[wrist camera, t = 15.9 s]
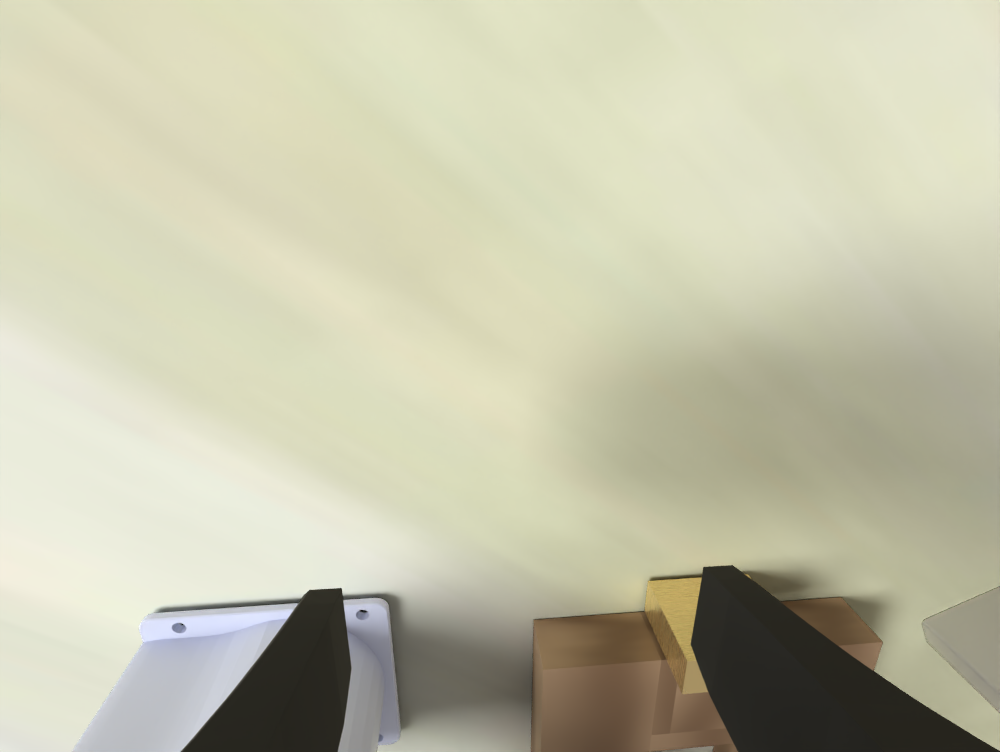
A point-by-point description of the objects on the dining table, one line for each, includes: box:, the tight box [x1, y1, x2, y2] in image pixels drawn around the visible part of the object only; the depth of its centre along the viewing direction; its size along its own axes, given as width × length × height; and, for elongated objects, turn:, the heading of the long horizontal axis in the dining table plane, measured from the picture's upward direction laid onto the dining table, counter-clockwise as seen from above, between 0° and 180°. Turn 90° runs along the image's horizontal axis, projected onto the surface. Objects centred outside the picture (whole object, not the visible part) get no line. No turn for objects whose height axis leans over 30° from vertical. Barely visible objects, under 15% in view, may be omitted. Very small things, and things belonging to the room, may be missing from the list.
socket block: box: [531, 597, 883, 752], centre depth 25 cm, size 14×12×2 cm
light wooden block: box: [645, 574, 751, 694], centre depth 22 cm, size 4×6×4 cm
